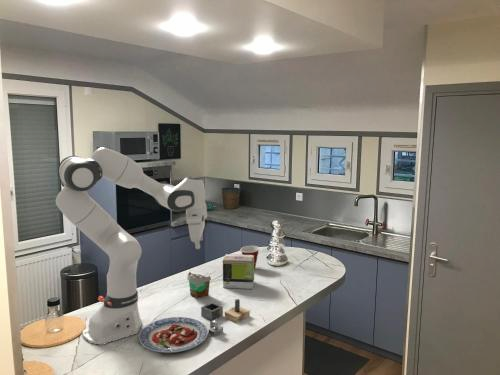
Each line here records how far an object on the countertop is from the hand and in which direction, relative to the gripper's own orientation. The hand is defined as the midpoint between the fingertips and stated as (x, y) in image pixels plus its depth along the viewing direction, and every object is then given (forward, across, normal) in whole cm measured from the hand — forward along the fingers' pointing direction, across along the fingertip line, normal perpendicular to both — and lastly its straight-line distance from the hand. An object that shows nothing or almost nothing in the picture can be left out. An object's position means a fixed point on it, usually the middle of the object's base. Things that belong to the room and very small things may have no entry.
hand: (199, 244), depth 176 cm
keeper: (+29, +11, +15) cm, 35 cm away
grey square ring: (+29, +10, +4) cm, 31 cm away
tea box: (+32, -23, +14) cm, 42 cm away
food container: (+30, -10, -5) cm, 31 cm away
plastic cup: (+34, -46, +20) cm, 61 cm away
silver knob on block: (+28, +24, +7) cm, 38 cm away
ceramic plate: (+27, +28, -8) cm, 40 cm away
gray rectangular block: (+28, +19, +6) cm, 35 cm away
